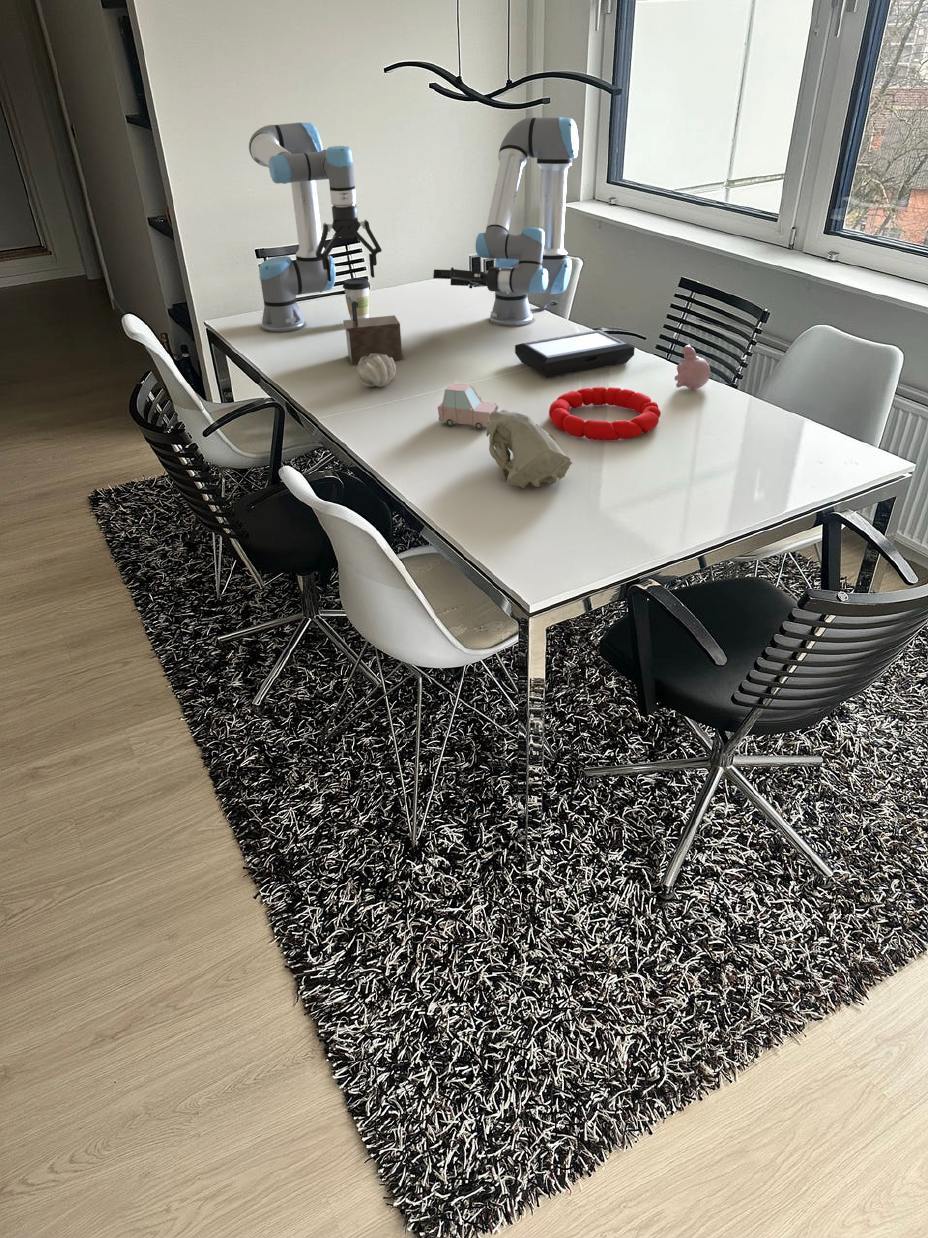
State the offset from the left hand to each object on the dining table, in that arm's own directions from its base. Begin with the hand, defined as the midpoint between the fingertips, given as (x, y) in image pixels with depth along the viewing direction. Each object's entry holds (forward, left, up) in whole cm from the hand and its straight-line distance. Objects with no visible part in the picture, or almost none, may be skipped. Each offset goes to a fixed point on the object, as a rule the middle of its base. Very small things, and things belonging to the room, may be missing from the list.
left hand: (351, 278), depth 279 cm
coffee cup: (-41, +4, -26) cm, 48 cm away
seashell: (+27, +4, -26) cm, 37 cm away
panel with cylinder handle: (0, +5, -15) cm, 16 cm away
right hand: (-17, +32, -6) cm, 36 cm away
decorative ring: (+71, +62, -26) cm, 97 cm away
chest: (0, +5, -26) cm, 26 cm away
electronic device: (+22, +67, -26) cm, 75 cm away
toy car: (+63, +25, -26) cm, 72 cm away
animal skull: (+95, +32, -26) cm, 104 cm away
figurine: (+53, +94, -26) cm, 111 cm away
